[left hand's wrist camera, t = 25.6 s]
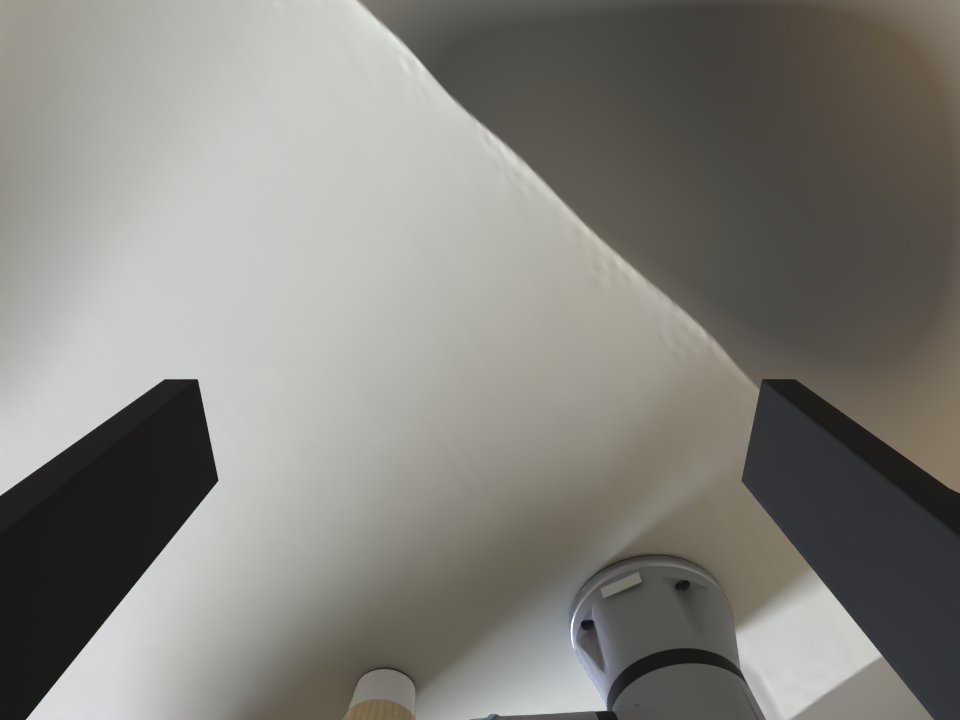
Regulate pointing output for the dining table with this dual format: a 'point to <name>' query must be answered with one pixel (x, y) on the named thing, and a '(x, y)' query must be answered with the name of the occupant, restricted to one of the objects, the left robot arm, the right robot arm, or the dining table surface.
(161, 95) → the dining table surface
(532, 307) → the dining table surface
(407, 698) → the coffee cup
